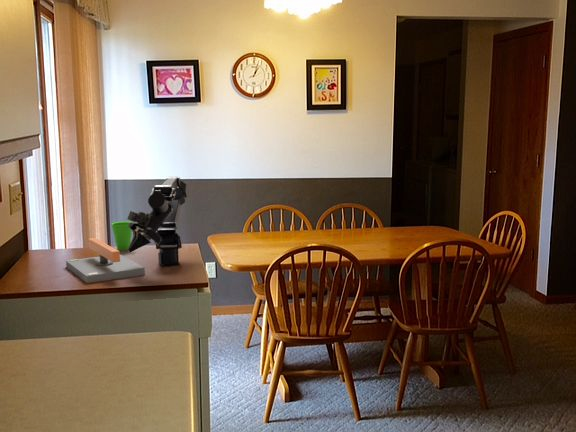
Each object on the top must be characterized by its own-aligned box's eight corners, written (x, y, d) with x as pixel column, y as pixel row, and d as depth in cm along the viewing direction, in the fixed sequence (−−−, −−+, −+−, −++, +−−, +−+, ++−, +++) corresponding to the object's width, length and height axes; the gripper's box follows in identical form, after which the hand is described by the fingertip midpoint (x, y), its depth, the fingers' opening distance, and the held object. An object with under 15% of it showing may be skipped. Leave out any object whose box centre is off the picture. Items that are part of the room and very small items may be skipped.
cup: (139, 248, 260) (137, 222, 258) (122, 252, 252) (121, 225, 251) (124, 246, 265) (122, 220, 263) (107, 249, 257) (106, 224, 255)
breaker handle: (96, 256, 234) (95, 237, 233) (121, 271, 209) (120, 251, 208) (88, 257, 232) (87, 238, 231) (113, 273, 207) (112, 252, 206)
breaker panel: (119, 259, 238) (119, 252, 238) (144, 274, 215) (144, 266, 214) (66, 267, 227) (65, 259, 227) (87, 283, 204) (86, 274, 204)
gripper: (131, 199, 221) (103, 233, 217) (151, 205, 206) (120, 241, 202) (153, 219, 227) (126, 252, 223) (174, 226, 212) (144, 261, 207)
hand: (128, 251), depth 213 cm, fingers closed
